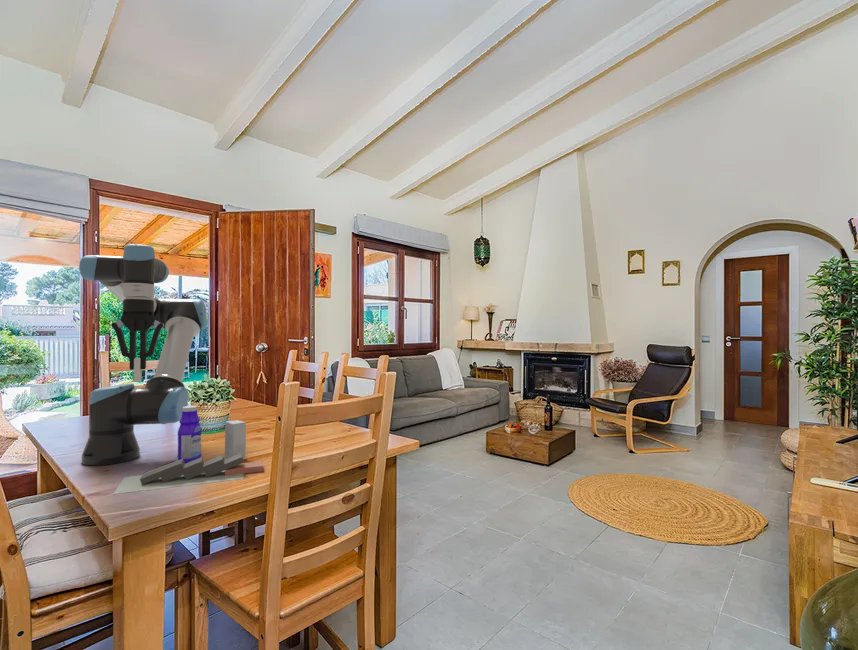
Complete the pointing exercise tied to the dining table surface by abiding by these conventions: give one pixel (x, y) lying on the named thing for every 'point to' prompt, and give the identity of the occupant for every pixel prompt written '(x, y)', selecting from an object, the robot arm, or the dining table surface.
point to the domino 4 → (226, 465)
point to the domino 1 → (162, 471)
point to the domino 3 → (206, 467)
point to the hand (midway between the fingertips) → (137, 381)
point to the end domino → (245, 468)
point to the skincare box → (235, 438)
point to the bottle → (189, 435)
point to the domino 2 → (185, 469)
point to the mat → (171, 482)
